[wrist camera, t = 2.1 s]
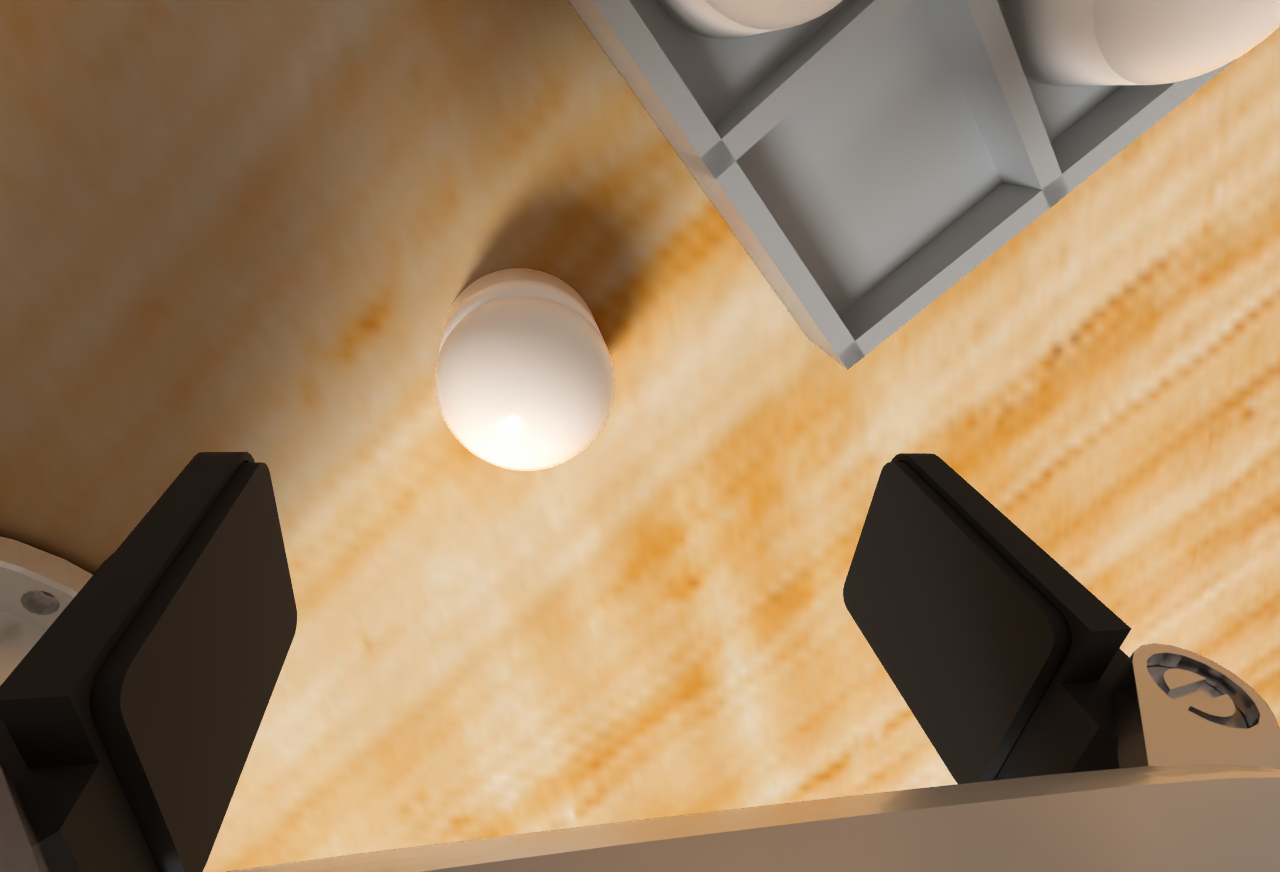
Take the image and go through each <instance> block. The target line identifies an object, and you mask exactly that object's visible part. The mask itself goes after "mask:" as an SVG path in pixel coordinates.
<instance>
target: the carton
mask: <svg viewBox="0 0 1280 872" xmlns="http://www.w3.org/2000/svg"><path fill="white" fill-rule="evenodd" d="M568 1H569V2H570V4H571V5H572V7H573V8H574V9H575V11H576V12H577V14H578V15H579V16H580V18H581V19H582V21H583V22H584V23H585V25H586V26H587V28H588V29H589V30H590V32H591V33H592V35H593V36H594V37H595V39H596V40H597V42H598V43H599V45H600V46H601V47H602V49H603V50H604V52H605V53H606V54H607V56H608V57H609V59H610V60H611V61H612V63H613V64H614V66H615V67H616V68H617V70H618V71H619V73H620V74H621V75H622V77H623V78H624V80H625V81H626V82H627V84H628V85H629V87H630V88H631V90H632V91H633V92H634V94H635V95H636V97H637V98H638V99H639V101H640V102H641V104H642V105H643V106H644V108H645V109H646V111H647V112H648V113H649V115H650V116H651V118H652V119H653V120H654V122H655V123H656V125H657V126H658V127H659V129H660V130H661V132H662V133H663V135H664V136H665V137H666V139H667V140H668V142H669V143H670V144H671V146H672V147H673V149H674V150H675V151H676V153H677V154H678V156H679V157H680V158H681V160H682V161H683V163H684V164H685V165H686V167H687V168H688V170H689V171H690V172H691V174H692V175H693V177H694V178H695V180H696V181H697V182H698V184H699V185H700V187H701V188H702V189H703V191H704V192H705V194H706V195H707V196H708V198H709V199H710V201H711V202H712V203H713V205H714V206H715V208H716V209H717V210H718V212H719V213H720V215H721V216H722V217H723V219H724V220H725V222H726V223H727V225H728V226H729V227H730V229H731V230H732V232H733V233H734V234H735V236H736V237H737V239H738V240H739V241H740V243H741V244H742V246H743V247H744V248H745V250H746V251H747V253H748V254H749V255H750V257H751V258H752V260H753V261H754V262H755V264H756V265H757V267H758V268H759V270H760V271H761V272H762V274H763V275H764V277H765V278H766V279H767V281H768V282H769V284H770V285H771V286H772V288H773V289H774V291H775V292H776V293H777V295H778V296H779V298H780V299H781V300H782V302H783V303H784V305H785V306H786V307H787V309H788V310H789V312H790V313H791V315H792V316H793V317H794V319H795V320H796V322H797V323H798V324H799V326H800V327H801V329H802V330H803V331H804V333H805V334H806V336H807V337H808V338H809V340H810V341H812V342H813V343H814V344H815V345H817V346H818V347H819V348H821V349H822V350H823V351H824V352H826V353H827V354H828V355H830V356H831V357H832V358H833V359H835V360H836V361H837V362H839V363H840V364H841V365H842V366H844V367H845V368H846V369H847V370H848V369H849V368H850V367H851V366H853V365H854V364H855V363H856V362H858V361H859V360H860V359H861V358H863V357H864V356H865V355H866V354H868V353H869V352H870V351H872V350H873V349H874V348H875V347H877V346H878V345H879V344H880V343H882V342H883V341H884V340H885V339H887V338H888V337H889V336H890V335H892V334H893V333H894V332H895V331H897V330H898V329H899V328H900V327H902V326H903V325H904V324H905V323H907V322H908V321H909V320H910V319H912V318H913V317H914V316H915V315H917V314H918V313H919V312H920V311H922V310H923V309H924V308H925V307H927V306H928V305H929V304H930V303H932V302H933V301H934V300H935V299H937V298H938V297H939V296H940V295H942V294H943V293H944V292H945V291H947V290H948V289H949V288H950V287H952V286H953V285H954V284H955V283H957V282H958V281H959V280H960V279H962V278H963V277H964V276H965V275H967V274H968V273H969V272H970V271H972V270H973V269H974V268H975V267H977V266H978V265H979V264H980V263H982V262H983V261H984V260H985V259H987V258H988V257H989V256H990V255H992V254H993V253H994V252H995V251H997V250H998V249H999V248H1000V247H1002V246H1003V245H1004V244H1005V243H1007V242H1008V241H1009V240H1010V239H1012V238H1013V237H1014V236H1015V235H1017V234H1018V233H1019V232H1020V231H1022V230H1023V229H1024V228H1025V227H1027V226H1028V225H1029V224H1030V223H1032V222H1033V221H1034V220H1035V219H1037V218H1038V217H1039V216H1040V215H1042V214H1043V213H1044V212H1045V211H1047V210H1048V209H1049V208H1050V207H1052V206H1053V205H1054V204H1055V203H1057V202H1058V201H1059V200H1060V199H1062V198H1063V197H1064V196H1065V195H1067V194H1068V193H1069V192H1070V191H1072V190H1073V189H1074V188H1075V187H1077V186H1078V185H1079V184H1080V183H1082V182H1083V181H1084V180H1086V179H1087V178H1088V177H1089V176H1091V175H1092V174H1093V173H1094V172H1096V171H1097V170H1098V169H1099V168H1101V167H1102V166H1103V165H1104V164H1106V163H1107V162H1108V161H1109V160H1111V159H1112V158H1113V157H1114V156H1116V155H1117V154H1118V153H1119V152H1121V151H1122V150H1123V149H1124V148H1126V147H1127V146H1128V145H1129V144H1131V143H1132V142H1133V141H1134V140H1136V139H1137V138H1138V137H1139V136H1141V135H1142V134H1143V133H1144V132H1146V131H1147V130H1148V129H1149V128H1151V127H1152V126H1153V125H1154V124H1156V123H1157V122H1158V121H1159V120H1161V119H1162V118H1163V117H1164V116H1166V115H1167V114H1168V113H1169V112H1171V111H1172V110H1173V109H1174V108H1176V107H1177V106H1178V105H1179V104H1181V103H1182V102H1183V101H1184V100H1186V99H1187V98H1188V97H1189V96H1191V95H1192V94H1193V93H1194V92H1196V91H1197V90H1198V89H1199V88H1201V87H1202V86H1203V85H1204V84H1206V83H1207V82H1208V81H1209V80H1211V79H1212V78H1213V77H1214V76H1216V75H1217V74H1218V73H1219V72H1221V71H1222V70H1223V69H1224V68H1226V67H1227V66H1228V65H1229V64H1231V63H1232V62H1233V61H1234V60H1236V59H1237V58H1239V57H1240V56H1242V55H1244V54H1245V53H1247V52H1248V51H1249V50H1251V49H1252V48H1254V47H1255V46H1256V45H1258V44H1259V43H1260V42H1262V41H1263V40H1265V39H1266V38H1267V37H1268V36H1269V35H1271V34H1272V33H1273V32H1274V31H1275V30H1276V29H1277V28H1278V27H1279V26H1280V0H568Z"/></svg>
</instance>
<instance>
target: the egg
mask: <svg viewBox="0 0 1280 872" xmlns="http://www.w3.org/2000/svg"><path fill="white" fill-rule="evenodd" d="M614 389H615V376H614V368H613V364H612V360H611V357H610V353H609V351H608V348H607V346H606V343H605V341H604V339H603V337H602V335H601V333H600V330H599V328H598V326H597V324H596V322H595V320H594V317H593V315H592V313H591V311H590V309H589V307H588V306H587V304H586V302H585V301H584V300H583V299H582V297H581V296H580V295H579V294H578V293H577V292H576V291H575V290H574V289H573V288H572V287H571V286H570V285H568V284H567V283H566V282H564V281H563V280H561V279H559V278H557V277H555V276H553V275H551V274H548V273H546V272H543V271H539V270H535V269H527V268H511V269H504V270H499V271H496V272H492V273H490V274H487V275H485V276H483V277H481V278H479V279H477V280H476V281H474V282H473V283H471V284H470V285H469V286H468V287H466V288H465V289H464V290H463V291H462V292H461V293H460V294H459V296H458V297H457V298H456V299H455V301H454V302H453V304H452V305H451V307H450V309H449V311H448V313H447V316H446V319H445V322H444V327H443V332H442V337H441V343H440V348H439V354H438V359H437V365H436V370H435V390H436V398H437V401H438V405H439V408H440V411H441V414H442V416H443V418H444V421H445V423H446V424H447V426H448V428H449V429H450V431H451V432H452V433H453V435H454V436H455V437H456V438H457V439H458V441H459V442H460V443H461V444H462V445H463V446H464V447H465V448H466V449H467V450H469V451H470V452H471V453H473V454H474V455H476V456H477V457H479V458H481V459H483V460H485V461H486V462H488V463H491V464H493V465H496V466H499V467H502V468H506V469H512V470H520V471H532V470H541V469H546V468H550V467H553V466H557V465H559V464H561V463H564V462H566V461H568V460H570V459H571V458H573V457H575V456H576V455H578V454H579V453H580V452H582V451H583V450H584V449H585V448H586V447H587V446H588V445H589V444H590V443H591V442H592V441H593V440H594V439H595V438H596V436H597V435H598V434H599V433H600V431H601V429H602V428H603V426H604V424H605V422H606V420H607V418H608V415H609V413H610V410H611V407H612V403H613V398H614Z"/></svg>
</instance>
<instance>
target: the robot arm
mask: <svg viewBox="0 0 1280 872" xmlns="http://www.w3.org/2000/svg"><path fill="white" fill-rule="evenodd" d="M843 596H844V602H845V605H846V607H847V609H848V611H849V613H850V614H851V616H852V617H853V619H854V620H855V622H856V624H857V625H858V627H859V628H860V630H861V632H862V633H863V635H864V636H865V638H866V640H867V641H868V643H869V644H870V646H871V647H872V649H873V651H874V652H875V654H876V655H877V657H878V659H879V660H880V662H881V663H882V665H883V666H884V668H885V670H886V671H887V673H888V674H889V676H890V678H891V679H892V681H893V682H894V684H895V686H896V687H897V689H898V690H899V692H900V693H901V695H902V697H903V698H904V700H905V701H906V703H907V705H908V706H909V708H910V709H911V711H912V713H913V714H914V716H915V717H916V719H917V720H918V722H919V724H920V725H921V727H922V728H923V730H924V732H925V733H926V735H927V736H928V738H929V739H930V741H931V743H932V744H933V746H934V747H935V749H936V751H937V752H938V754H939V755H940V757H941V759H942V760H943V762H944V763H945V765H946V766H947V768H948V770H949V771H950V773H951V774H952V776H953V778H954V779H955V780H956V782H957V783H958V785H948V786H939V787H930V788H921V789H911V790H902V791H893V792H884V793H874V794H865V795H856V796H847V797H838V798H830V799H821V800H812V801H803V802H794V803H785V804H776V805H768V806H759V807H750V808H741V809H732V810H724V811H715V812H706V813H697V814H689V815H680V816H671V817H663V818H654V819H645V820H637V821H628V822H619V823H610V824H602V825H594V826H585V827H577V828H569V829H560V830H552V831H543V832H535V833H527V834H518V835H510V836H502V837H493V838H485V839H477V840H468V841H460V842H452V843H443V844H435V845H426V846H418V847H410V848H401V849H393V850H385V851H376V852H368V853H360V854H353V855H346V856H338V857H331V858H323V859H316V860H309V861H301V862H294V863H287V864H279V865H272V866H265V867H257V868H250V869H243V870H235V871H228V872H1280V728H1279V726H1278V723H1277V720H1276V718H1275V716H1274V714H1273V713H1272V711H1271V709H1270V708H1269V706H1268V704H1267V703H1266V702H1265V701H1264V700H1263V699H1262V698H1261V697H1260V695H1259V694H1258V693H1257V692H1256V691H1255V690H1254V689H1253V688H1252V687H1250V686H1249V685H1248V684H1247V683H1245V682H1244V681H1243V680H1241V679H1240V678H1239V677H1237V676H1236V675H1235V674H1234V673H1232V672H1230V671H1229V670H1227V669H1225V668H1223V667H1222V666H1220V665H1218V664H1217V663H1215V662H1213V661H1211V660H1209V659H1207V658H1205V657H1202V656H1200V655H1198V654H1196V653H1194V652H1191V651H1188V650H1185V649H1181V648H1178V647H1175V646H1171V645H1162V644H1148V645H1142V646H1140V647H1139V648H1138V649H1137V650H1135V651H1134V652H1133V654H1132V656H1131V657H1130V658H1129V657H1128V656H1127V655H1126V654H1125V653H1124V652H1123V651H1122V650H1121V649H1119V648H1120V646H1121V644H1122V643H1123V641H1124V640H1125V638H1126V636H1127V635H1128V633H1129V632H1130V630H1131V628H1130V627H1129V626H1128V625H1126V624H1125V623H1124V622H1123V621H1122V620H1121V619H1120V618H1119V617H1118V616H1116V615H1115V614H1114V613H1113V612H1112V611H1111V610H1110V609H1109V608H1107V607H1106V606H1105V605H1104V604H1103V603H1102V602H1101V601H1100V600H1098V599H1097V598H1096V597H1095V596H1094V595H1093V594H1092V593H1091V592H1089V591H1088V590H1087V589H1086V588H1085V587H1084V586H1083V585H1082V584H1081V583H1079V582H1078V581H1077V580H1076V579H1075V578H1074V577H1073V576H1072V575H1070V574H1069V573H1068V572H1067V571H1066V570H1065V569H1064V568H1063V567H1061V566H1060V565H1059V564H1058V563H1057V562H1056V561H1055V560H1054V559H1053V558H1051V557H1050V556H1049V555H1048V554H1047V553H1046V552H1045V551H1044V550H1042V549H1041V548H1040V547H1039V546H1038V545H1037V544H1036V543H1035V542H1033V541H1032V540H1031V539H1030V538H1029V537H1028V536H1027V535H1026V534H1025V533H1023V532H1022V531H1021V530H1020V529H1019V528H1018V527H1017V526H1016V525H1014V524H1013V523H1012V522H1011V521H1010V520H1009V519H1008V518H1007V517H1005V516H1004V515H1003V514H1002V513H1001V512H1000V511H999V510H998V509H996V508H995V507H994V506H993V505H992V504H991V503H990V502H989V501H988V500H986V499H985V498H984V497H983V496H982V495H981V494H980V493H979V492H977V491H976V490H975V489H974V488H973V487H972V486H971V485H970V484H968V483H967V482H966V481H965V480H964V479H963V478H962V477H961V476H960V475H958V474H957V473H956V472H955V471H954V470H953V469H952V468H951V467H949V466H948V465H947V464H946V463H945V462H944V461H943V460H942V459H940V458H939V457H938V456H936V455H935V454H898V455H896V456H895V457H894V458H893V459H892V461H891V462H889V463H887V464H886V465H885V466H884V467H883V469H882V471H881V474H880V477H879V480H878V483H877V486H876V489H875V492H874V496H873V499H872V502H871V505H870V508H869V511H868V514H867V517H866V520H865V523H864V526H863V529H862V532H861V535H860V538H859V541H858V545H857V548H856V551H855V554H854V557H853V560H852V563H851V566H850V569H849V572H848V575H847V578H846V581H845V584H844V589H843ZM296 624H297V610H296V604H295V599H294V594H293V589H292V584H291V579H290V574H289V568H288V563H287V558H286V553H285V548H284V543H283V538H282V533H281V528H280V522H279V517H278V512H277V507H276V502H275V497H274V492H273V487H272V482H271V477H270V472H269V469H268V467H267V465H266V464H265V463H255V462H254V459H253V457H252V456H251V454H249V453H248V452H200V453H198V454H197V455H196V456H194V458H193V459H192V460H191V461H190V462H189V464H188V465H187V466H186V467H185V468H184V470H183V471H182V472H181V473H180V474H179V476H178V477H177V478H176V479H175V480H174V482H173V483H172V484H171V485H170V486H169V488H168V489H167V490H166V491H165V493H164V494H163V495H162V496H161V497H160V499H159V500H158V501H157V502H156V503H155V505H154V506H153V507H152V508H151V509H150V511H149V512H148V513H147V514H146V515H145V517H144V518H143V519H142V520H141V521H140V523H139V524H138V525H137V526H136V527H135V529H134V530H133V531H132V532H131V534H130V535H129V536H128V537H127V538H126V540H125V541H124V542H123V543H122V544H121V546H120V547H119V548H118V549H117V550H116V552H115V553H114V554H112V555H111V556H110V557H109V558H108V559H107V560H106V561H104V562H103V564H102V565H101V566H100V567H99V568H98V570H97V571H96V572H95V573H94V574H93V575H92V574H90V573H89V572H87V571H85V570H83V569H81V568H80V567H78V566H76V565H74V564H72V563H70V562H69V561H67V560H65V559H62V558H60V557H57V556H55V555H52V554H50V553H47V552H45V551H42V550H39V549H37V548H34V547H32V546H29V545H27V544H24V543H22V542H19V541H16V540H13V539H9V538H5V537H1V536H0V872H202V871H203V869H204V867H205V865H206V863H207V860H208V858H209V855H210V852H211V850H212V847H213V845H214V842H215V840H216V837H217V834H218V832H219V829H220V827H221V824H222V821H223V819H224V816H225V814H226V811H227V808H228V806H229V803H230V801H231V798H232V795H233V793H234V790H235V788H236V785H237V783H238V780H239V777H240V775H241V772H242V770H243V767H244V764H245V762H246V759H247V757H248V754H249V751H250V749H251V746H252V744H253V741H254V739H255V736H256V733H257V731H258V728H259V726H260V723H261V720H262V718H263V715H264V713H265V710H266V707H267V705H268V702H269V700H270V697H271V695H272V692H273V689H274V687H275V684H276V682H277V679H278V676H279V674H280V671H281V669H282V666H283V663H284V661H285V658H286V656H287V653H288V650H289V648H290V645H291V643H292V640H293V637H294V634H295V630H296Z"/></svg>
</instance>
